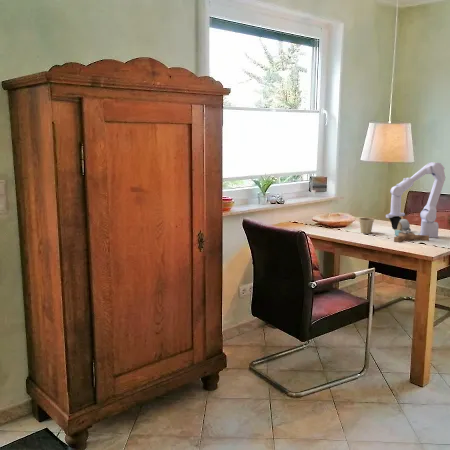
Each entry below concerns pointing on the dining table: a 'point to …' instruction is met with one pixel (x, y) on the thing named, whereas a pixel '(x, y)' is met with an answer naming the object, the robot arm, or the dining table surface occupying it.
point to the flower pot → (366, 224)
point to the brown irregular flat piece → (410, 237)
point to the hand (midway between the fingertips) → (394, 228)
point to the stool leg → (399, 232)
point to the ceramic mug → (403, 226)
